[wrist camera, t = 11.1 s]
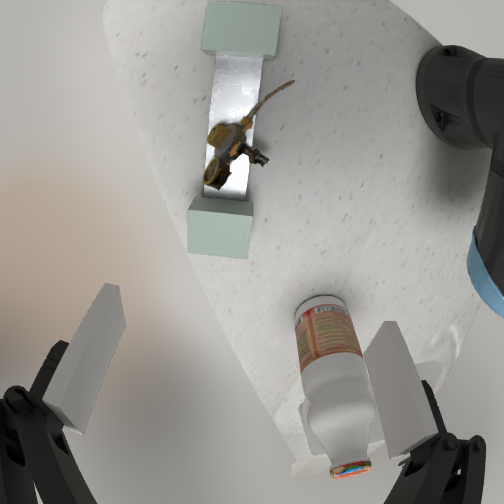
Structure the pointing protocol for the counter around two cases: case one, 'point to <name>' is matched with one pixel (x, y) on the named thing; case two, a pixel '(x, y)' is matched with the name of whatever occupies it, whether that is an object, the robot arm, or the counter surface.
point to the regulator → (232, 146)
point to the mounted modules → (245, 45)
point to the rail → (233, 116)
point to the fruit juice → (335, 384)
